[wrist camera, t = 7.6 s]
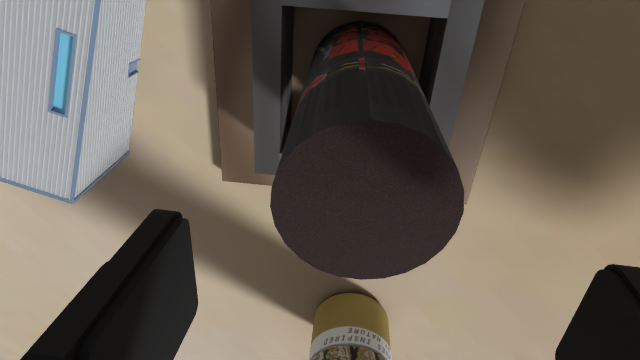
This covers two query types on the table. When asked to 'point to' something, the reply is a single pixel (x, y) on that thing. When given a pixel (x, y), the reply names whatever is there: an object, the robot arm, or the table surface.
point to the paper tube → (350, 329)
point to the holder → (298, 50)
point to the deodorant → (365, 162)
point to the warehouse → (66, 91)
